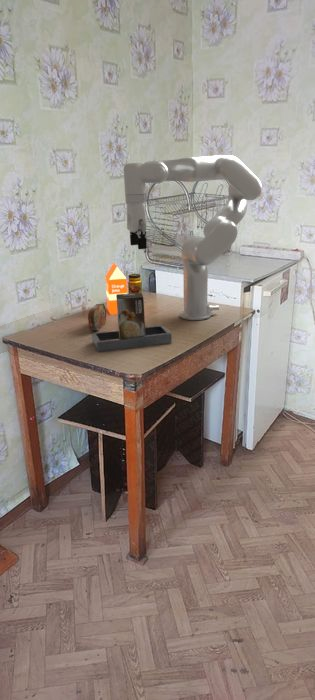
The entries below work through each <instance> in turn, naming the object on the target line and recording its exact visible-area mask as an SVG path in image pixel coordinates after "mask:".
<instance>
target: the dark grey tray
mask: <svg viewBox="0 0 315 700" xmlns="http://www.w3.org/2000/svg"><path fill="white" fill-rule="evenodd" d="M91 339H92V341H91V342H92V345H93V346H94V348H95V350H96V351H97V353H104V352H110V351H119V350H128V349H136V348H143V347H152V346H159V345H167V344H172V342H173V341H172V333H171V332H170V331H169V329H167V328H166V327H165V326H164V325H163V324H161V325H160V324H158V325H152V326H145V336H138V337H129V338H121V339H119V329H116V330H108V331H96V332H92V333H91Z"/></svg>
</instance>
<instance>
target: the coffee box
mask: <svg viewBox="0 0 315 700" xmlns="http://www.w3.org/2000/svg"><path fill="white" fill-rule="evenodd" d="M116 298H117V313H118V314H117V322H118V323H117V324H118V325H117V327H118V330H119V339H121V338H129V337H138V336H145V327H146V319H145V301H144V300H145V299H144V295H143V292H142V293H132V294H129V293H128V294H116Z"/></svg>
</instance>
